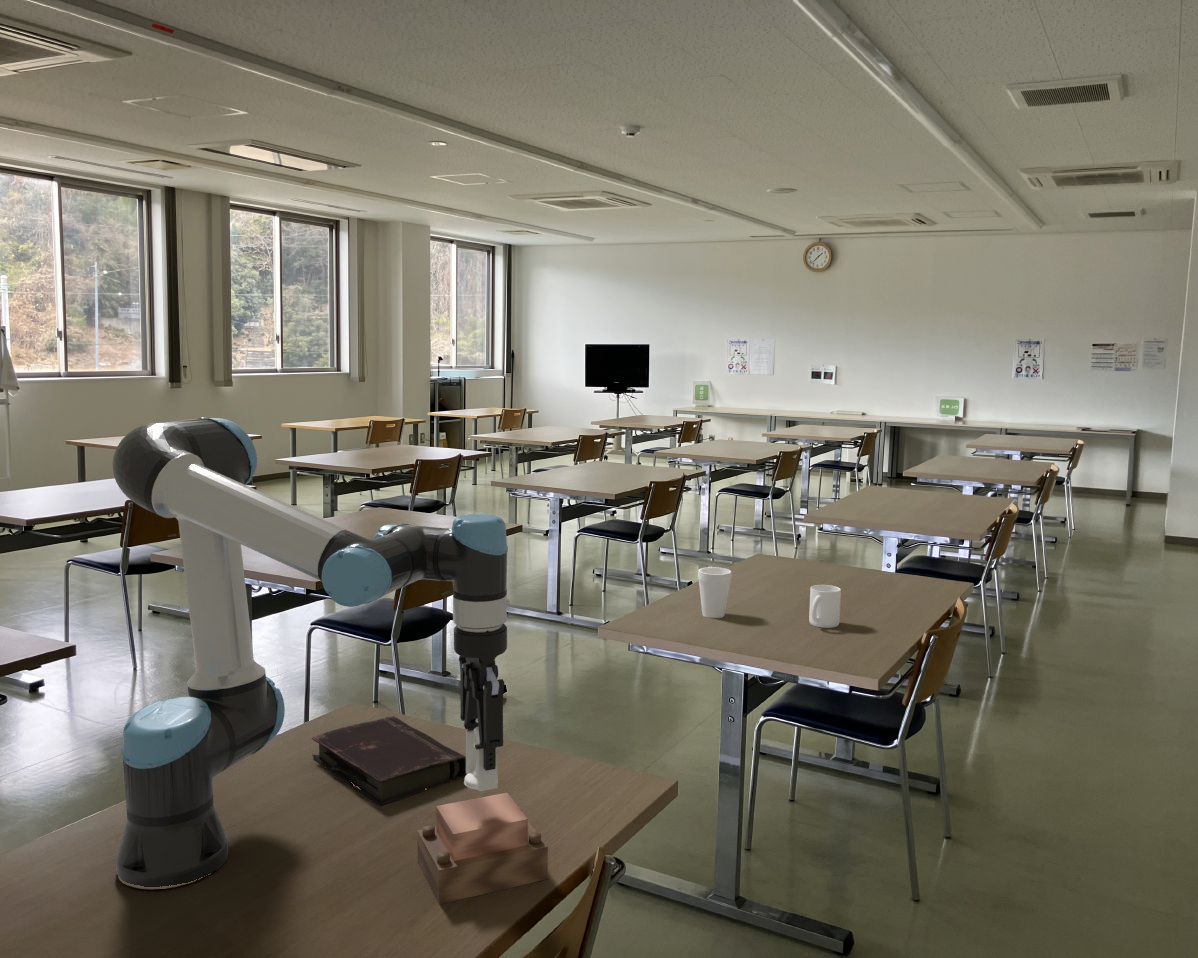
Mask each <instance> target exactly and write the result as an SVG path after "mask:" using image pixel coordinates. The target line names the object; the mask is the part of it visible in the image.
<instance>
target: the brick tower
mask: <svg viewBox="0 0 1198 958" xmlns="http://www.w3.org/2000/svg"><path fill="white" fill-rule="evenodd" d="M435 811H436V812H435V813H436V814H435V815H436V817H435V818H436V819H435V821H436V823H435V824H436V825H435V826H434V825H425V826H423V827H422V829H417V830H416V832H417V833H416V834H417V835H416V836H417V837H416V838H417V863H418V865H419V867H420V869H421V871H422V873H423V875H424V877H425V879H426V881H427V882H428V885H429V887H430V889H431V890H432V892H433V893H432V894H433V895H434V897H435V899H436V900H437V903H438V904H439V905H442V904H447V903H452V902H455V901H459V900H464V899H468V898H472V897H477V896H481V895H485V894H489V893H493V892H498V891H503V890H506V889H511V888H517V887H519V886H524V885H527V884H533V883H537V882H540V881H545V880H548V878H549V877H548V875H549V873H548V872H549V869H548V868H549V863H548V861H549V860H548V859H549V858H548V855H549V854H548V851H549V850H548V849H549V846H548V844H546V842H545V841H544V839H542V834H541V833H540V832H539V831H536V829H535V828H534V827H533V826H532V824H531V823H530V822H529V818H528V817H527V816H526V815H525V813H524V812H523V810H522V809H521V808H520V807H519V805H518V804H517V803H516V801H514V799H513V798H512V797H511V795H510V794H509V793H508V792H504V793H498V794H492V795H488V796H483V797H477V798H471V799H466V800H462V801H456V802H449V803H445V804H440V805H436V807H435Z"/></svg>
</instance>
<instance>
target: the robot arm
mask: <svg viewBox="0 0 1198 958" xmlns="http://www.w3.org/2000/svg"><path fill="white" fill-rule="evenodd" d="M257 467H258V455H257V450H256V447H255V444H254V442H253V441H252V439H251V437H250V436H249V434H248V433H247V432H246V431H245V430H244V429H242V428H241V426H240V425H238V423H235V422H233V421H231V420H229V419H225V418H218V417H198V418H191V419H183V420H182V419H181V420H173V421H166V422H151V423H147V424H143V425H140V426H138V427H136V428H134V429H132V430H130V431H129V432H128V433H127V434H126V435H125V436H124V437H122V439H121V440H120V442H119V444H117V446H116V448H115V451H114V454H113V458H112V473H113V477H114V480H115V483H116V485H117V486H118V488H119V490H121V492H122V493H123V494H124V495H125V496H126V497H127V498H128V499H129V500H130V501H132V502H133V503H134V504H136V505H138V506H139V507H141V508H142V509H145V510H147V511H149V512H151V513H153V514H155V515H157V516H160V517H162V518H165V519H172V518H175V519H176V521H178V522H177V523H178V530H179V539H180V545H181V546H180V547H181V553H182V555H181V556H182V562H183V564H182V565H183V570H184V571H183V572H184V578H185V579H184V581H185V587H186V589H185V590H186V595H187V596H186V597H187V604H188V613H189V620H190V621H189V622H190V628H191V629H190V631H191V638H192V647H193V654H194V662H195V664H194V665H195V671H194V673H192V675H191V677H190V678H189V679H188V681H187V683H186V685H187V694H188V696H177V697H170V698H168V699H166V700H164V701H163V700H159V701H155V702H152V703H150V704H147V705H146V706H144V707H142V708H140V709H139V710H137V711H136V712H134V713H133V714H132V715H130V717H129V718H128V720H127V721H126V723H125V725H124V727H123V732H122V746H121V756H122V761H123V763H122V765H123V777H124V779H123V780H124V791H125V806H126V823H125V826H124V831H123V833H122V836H121V837H122V838H121V840H120V843H119V847H118V850H117V852H116V853H117V855H116V858H115V869H116V871H117V872H116V876H117V875H118V876H119V877H120V878H121V879H122V880H123V881H125V882H127V883H130V884H134V885H140V886H144V887H160V886H161V887H162V886H169V885H170V886H171V885H177V884H182V883H188V882H191V881H194V880H196V879H197V880H198V879H199V878H201V877H204V876H206V875H208V874H210V873H212V872H213V871H215V870H216V871H218V870H220V869H221V867H222V866H223V865H224V864H225V863H226V861H227V860H228V856H229V839H228V835H227V833H226V831H225V828H224V827H223V823H222V821H221V819H220V817H219V815H218V812H217V810H216V807H215V805H214V804H215V803H214V784H213V783H214V782H213V779H214V777H215V776H217V775H219V774H220V773H222V772H224V771H225V770H227V769H229V768H230V767H232V766H233V765H236V764H238V762H241V761H242V760H244V759H245V758H247V757H249V756H251V755H254V754H256V753H257V752H260V751H261V750H262V749H263V748H264V747H265V746H266V745H267V744H269V743H270V742H271V741H272V740H273V739H275V737H276V736H277V735H278V734H279V732H280V731H281V728H282V725H283V723H284V720H285V712H286V710H285V709H286V707H285V700H284V697H283V694H282V692H281V690H280V688H278V687H276V686H275V685H276V683H275V682H274V681H273V680H272V679H271V678H270V677H268V676H267V675H266V669H265V667H264V666H262V665H261V664H259V663H257V662H256V660H255V658H254V656H255V655H254V649H253V641H252V638H253V637H252V631H251V622H250V615H249V614H250V613H249V605H248V596H247V587H246V579H245V570H244V560H243V559H244V558H243V552H242V546H244V547H246V548H248V549H250V550H253V551H255V552H257V553H259V554H261V555H264V556H266V557H268V558H270V559H272V560H274V561H276V562H279V563H282V564H283V565H286V566H288V567H289V568H292V569H295V570H296V571H299V572H301V573H303V574H305V575H307V576H309V577H312V578H314V579H316V580H319V581H320V582H321V583H322V586H323V589H324V591H325V592H326V593H327V594H328V596H329V597H330V598H331V600H332V601H334V603H337V604H338V605H340V606H343V607H346V608H347V607H348V608H353V607H360V606H361V605H366V604H371V603H373V602H375V601H377V600H380V598H383V597H384V596H386V595H388V594H390V593H393V592H394V591H396V590H399V589H401V588H404V587H406V586H408V585H410V584H413V583H415V582H416V581H420V580H426V581H430V580H431V581H439V582H440V581H441V582H452V587H453V589H452V590H453V591H452V592H453V594H452V621H453V623H454V624H455V626H454V628H453V650H454V652H455V653H456V654H457V655H458V662H459V675H460V678H459V679H460V682H459V683H460V685H459V686H460V692H459V693H460V696H459V697H460V698H459V699H460V716H459V717H460V720H461V721H464V722H463V727H464V729H465V757H466V774H468V773H470V772H473V771H474V770H475V768H476V761H477V781H478V790H477V791H478V792H484V791H489V790H495V789H498V784H497V776H498V748H500V747H501V748H502V747H504V689H505V681H504V679H503V678H501V679H499V678H498V677H499V667H498V665H497V664H496V658H497V657H499V656H500V655H503V654H504V653H505V652H506V651H507V648H508V627H507V626H506V624H505V623H506V622H507V621H508V619H507V617H508V616H507V615H508V612H507V610H508V609H507V606H509V605H510V604H511V603H510V602H511V601H510V599H509V598H508V595H507V594H508V590H507V586H508V585H507V580H508V579H507V573H508V571H507V570H508V569H507V567H508V550H509V546H508V541H507V540H508V539H507V528H506V527H507V525H506V522H505V521H504V519H502V518H501V517H500V516H498V515H494V514H487V513H486V514H484V513H481V514H475V513H472V514H463V515H460V516H456V517H455V518H454V519H453V521H452V526H451V527H447V528H446V527H436V526H435V527H434V526H433V527H432V526H425V525H424V526H423V525H412V524H409V523H401V524H385V525H382V526H381V527H379V529H378V531H377V532H376V533H375V534H374V535H373V537H372V539H369V538H366V537H364V536H362V535H359V534H357V533H355V532H352V531H350V530H348V529H346V528H343V527H342V526H338V525H336V524H334V523H332V522H330V521H329V520H325V519H323V518H321V517H318V516H317V515H314V514H312V513H309V512H307V511H305V510H304V509H300V508H298V507H295V506H293V505H292V504H289V503H287V502H285V501H282V500H280V499H278V498H276V497H273V496H271V495H269V494H266V493H265V492H262V491H259V490H258V489H255V488H253V487H252V486H248V484H249V483H250V482H251V481H252V479H253V476H254V475H256V471H257ZM477 718H478V723H477V722H476V719H477ZM476 727H479V739H480V744H476V745H475V747H474V743H476V742H477V738H476V735H475V733H474V729H475V728H476ZM217 869H218V870H217ZM216 871H215V872H216ZM212 874H213V873H212ZM210 875H211V874H210ZM198 881H199V880H198Z"/></svg>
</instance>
